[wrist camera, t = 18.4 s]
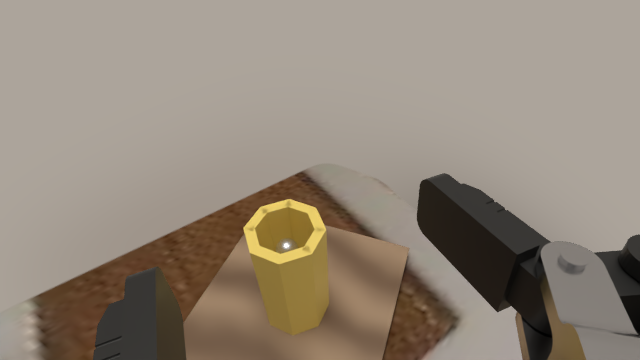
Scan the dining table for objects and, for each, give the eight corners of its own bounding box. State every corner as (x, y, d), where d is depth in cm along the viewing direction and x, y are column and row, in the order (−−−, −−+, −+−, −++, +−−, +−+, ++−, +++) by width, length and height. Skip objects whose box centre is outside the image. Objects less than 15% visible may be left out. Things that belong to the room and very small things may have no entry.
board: (354, 472, 26) (355, 468, 25) (154, 377, 31) (149, 372, 30) (407, 254, 39) (409, 247, 38) (263, 214, 44) (261, 207, 44)
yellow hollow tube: (314, 343, 31) (306, 272, 24) (254, 321, 33) (229, 249, 25) (335, 285, 35) (335, 210, 28) (281, 268, 37) (266, 193, 30)
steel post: (300, 314, 33) (291, 254, 27) (283, 308, 34) (270, 248, 28) (307, 298, 35) (300, 236, 28) (291, 292, 35) (280, 231, 29)
